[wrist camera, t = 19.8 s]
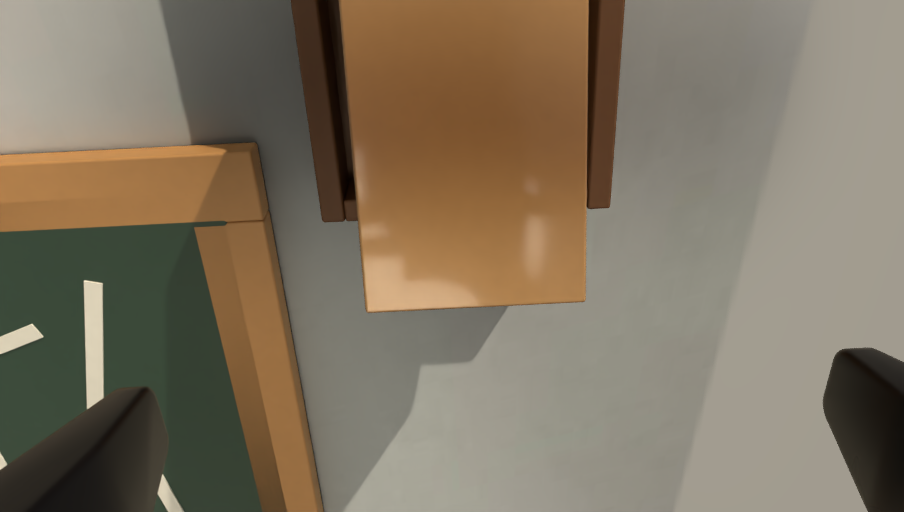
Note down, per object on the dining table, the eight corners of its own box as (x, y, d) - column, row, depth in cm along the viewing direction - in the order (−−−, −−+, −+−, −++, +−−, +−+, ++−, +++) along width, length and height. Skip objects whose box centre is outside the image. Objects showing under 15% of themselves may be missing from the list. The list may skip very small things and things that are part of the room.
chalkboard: (257, 141, 19) (250, 152, 18) (342, 613, 28) (340, 633, 28) (-341, 171, 19) (-373, 183, 18) (-55, 635, 28) (-67, 656, 28)
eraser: (349, -133, 15) (322, -191, 12) (552, -142, 16) (590, -203, 12) (379, 257, 18) (365, 314, 14) (554, 248, 18) (585, 302, 14)
